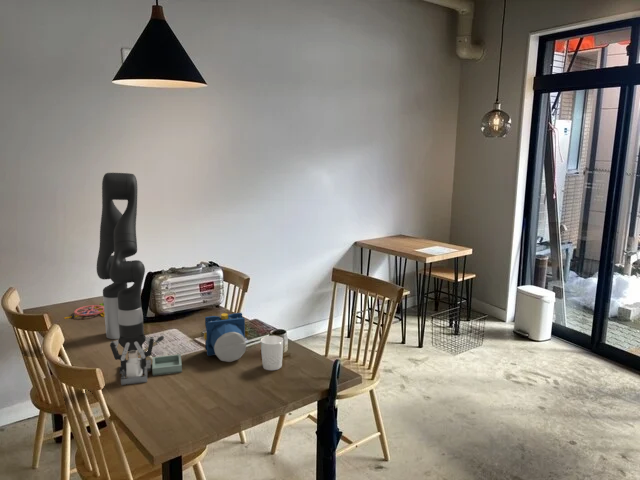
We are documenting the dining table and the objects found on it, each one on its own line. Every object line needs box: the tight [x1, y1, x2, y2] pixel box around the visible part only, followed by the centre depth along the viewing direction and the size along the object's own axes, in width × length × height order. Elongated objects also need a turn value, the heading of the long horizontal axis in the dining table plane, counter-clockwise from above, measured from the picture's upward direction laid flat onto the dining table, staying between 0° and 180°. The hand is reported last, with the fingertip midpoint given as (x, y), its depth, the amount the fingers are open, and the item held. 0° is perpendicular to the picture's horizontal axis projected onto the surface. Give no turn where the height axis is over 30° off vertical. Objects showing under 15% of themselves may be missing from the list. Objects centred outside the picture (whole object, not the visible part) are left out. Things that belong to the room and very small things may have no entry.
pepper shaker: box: [125, 350, 144, 378], centre depth 170 cm, size 4×4×10 cm
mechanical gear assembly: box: [63, 301, 105, 320], centre depth 235 cm, size 30×4×15 cm
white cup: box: [260, 335, 284, 371], centre depth 180 cm, size 8×8×10 cm
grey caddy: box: [118, 358, 152, 386], centre depth 174 cm, size 15×10×4 cm, turn 17°
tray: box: [151, 353, 183, 377], centre depth 179 cm, size 10×10×3 cm
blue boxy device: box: [203, 312, 247, 363], centre depth 188 cm, size 13×15×15 cm
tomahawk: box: [138, 335, 165, 355], centre depth 196 cm, size 21×7×1 cm, turn 166°
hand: (134, 368), depth 171 cm, fingers closed on pepper shaker, 5 cm apart
